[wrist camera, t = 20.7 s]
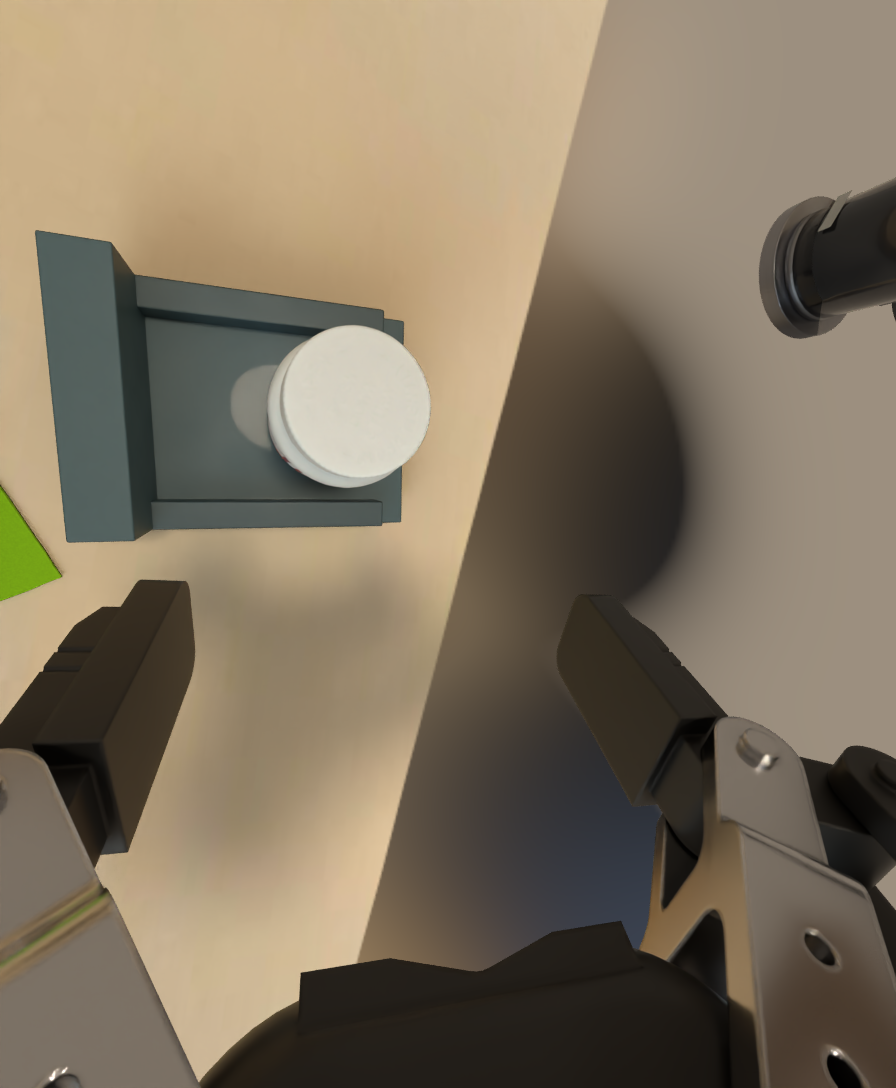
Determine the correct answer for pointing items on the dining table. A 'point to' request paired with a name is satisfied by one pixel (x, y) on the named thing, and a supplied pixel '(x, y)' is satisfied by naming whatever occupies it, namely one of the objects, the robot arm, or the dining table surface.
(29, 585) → the cloth
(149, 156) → the dining table surface
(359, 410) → the pill bottle
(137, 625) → the robot arm
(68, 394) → the sofa
